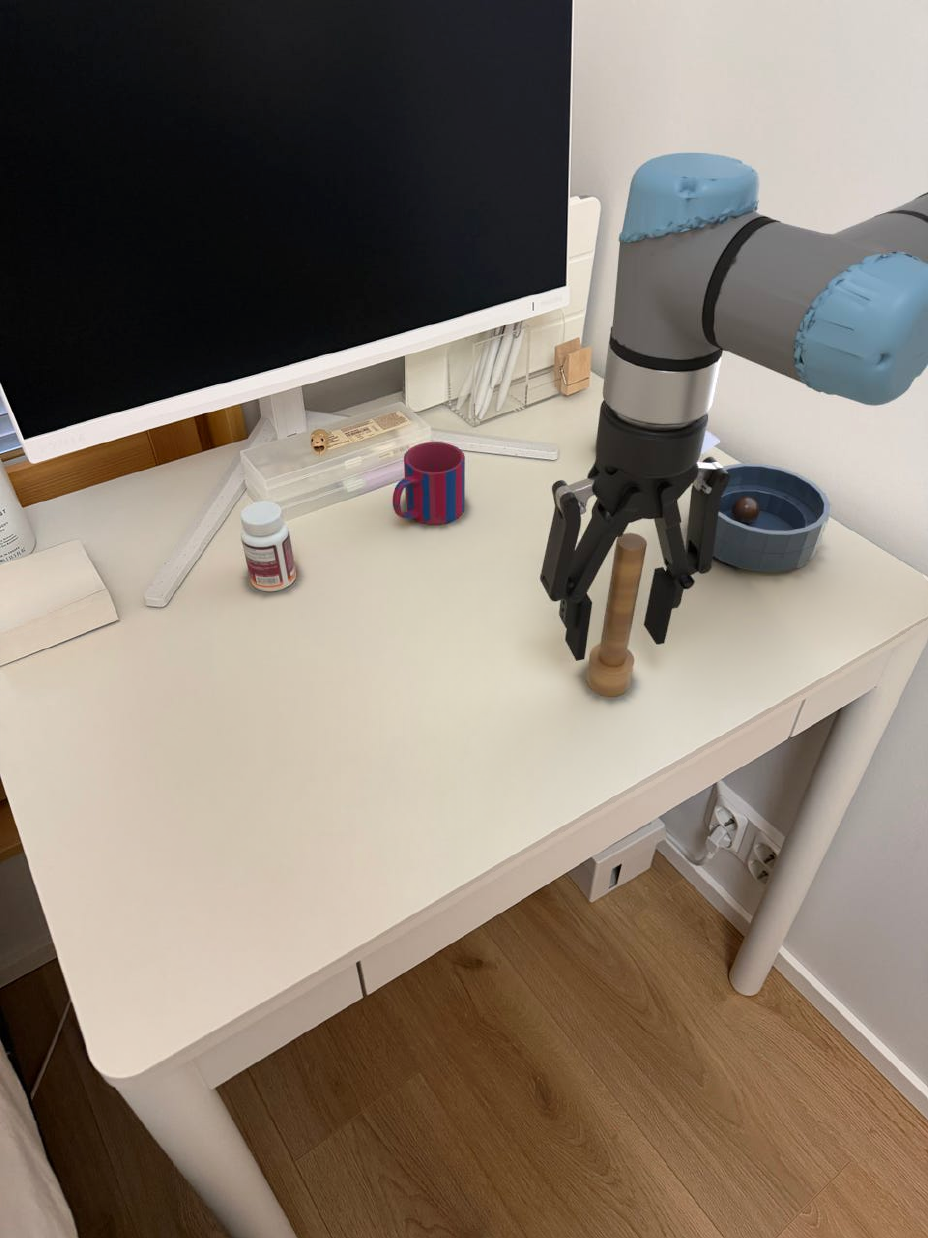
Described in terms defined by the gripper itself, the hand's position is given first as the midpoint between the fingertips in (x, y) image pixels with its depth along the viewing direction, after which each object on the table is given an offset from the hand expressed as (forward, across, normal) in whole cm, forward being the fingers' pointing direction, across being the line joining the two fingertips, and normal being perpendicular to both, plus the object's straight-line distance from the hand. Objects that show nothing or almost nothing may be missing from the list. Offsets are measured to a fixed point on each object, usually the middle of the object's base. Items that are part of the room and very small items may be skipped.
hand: (614, 641), depth 75 cm
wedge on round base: (+5, -20, -34) cm, 40 cm away
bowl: (+5, -24, -16) cm, 29 cm away
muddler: (+5, 0, 0) cm, 5 cm away
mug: (+5, +10, -30) cm, 32 cm away
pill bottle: (+5, +28, -23) cm, 37 cm away
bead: (+3, -24, -18) cm, 30 cm away
